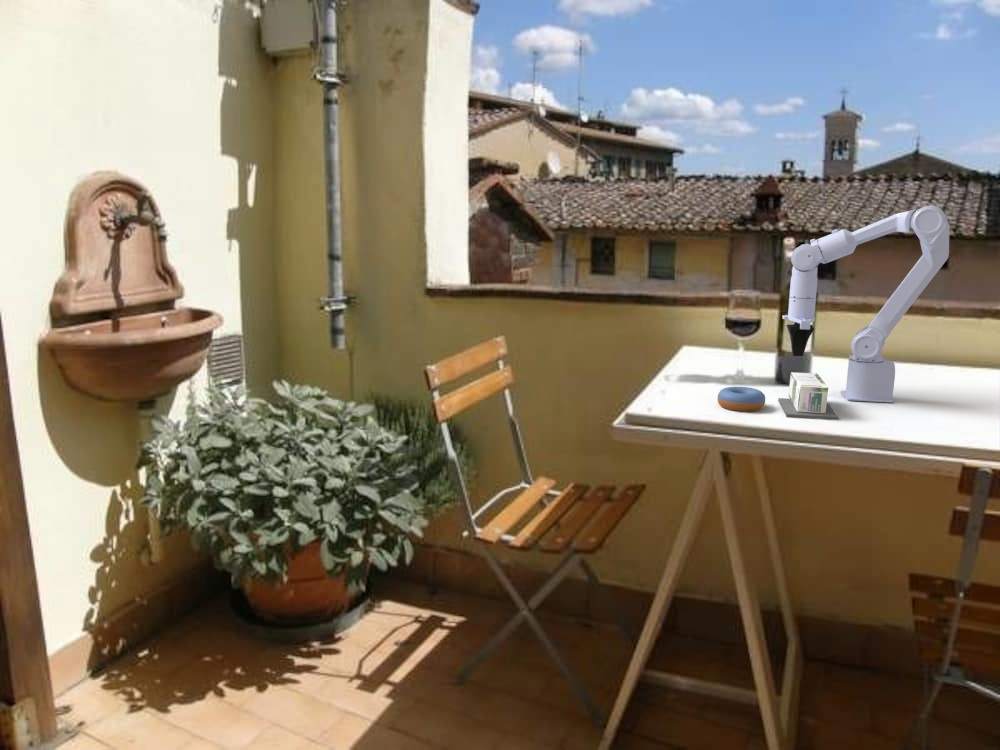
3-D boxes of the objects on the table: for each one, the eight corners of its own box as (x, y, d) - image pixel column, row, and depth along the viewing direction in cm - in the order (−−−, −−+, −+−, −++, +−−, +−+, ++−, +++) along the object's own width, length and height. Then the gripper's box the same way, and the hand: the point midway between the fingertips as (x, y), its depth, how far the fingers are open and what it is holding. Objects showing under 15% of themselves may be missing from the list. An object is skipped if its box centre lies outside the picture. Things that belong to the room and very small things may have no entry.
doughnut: (756, 399, 176) (755, 380, 174) (772, 413, 166) (772, 393, 165) (711, 404, 175) (711, 384, 174) (725, 418, 166) (725, 397, 165)
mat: (825, 403, 173) (826, 400, 173) (838, 419, 160) (838, 417, 160) (778, 400, 175) (778, 398, 175) (786, 416, 162) (786, 414, 162)
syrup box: (814, 397, 176) (827, 414, 162) (787, 396, 177) (797, 412, 163) (817, 372, 175) (830, 387, 161) (789, 371, 176) (800, 385, 162)
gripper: (780, 293, 188) (775, 349, 191) (788, 300, 174) (783, 360, 177) (811, 294, 186) (806, 350, 189) (822, 301, 173) (816, 362, 176)
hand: (797, 355), depth 183 cm, fingers closed
